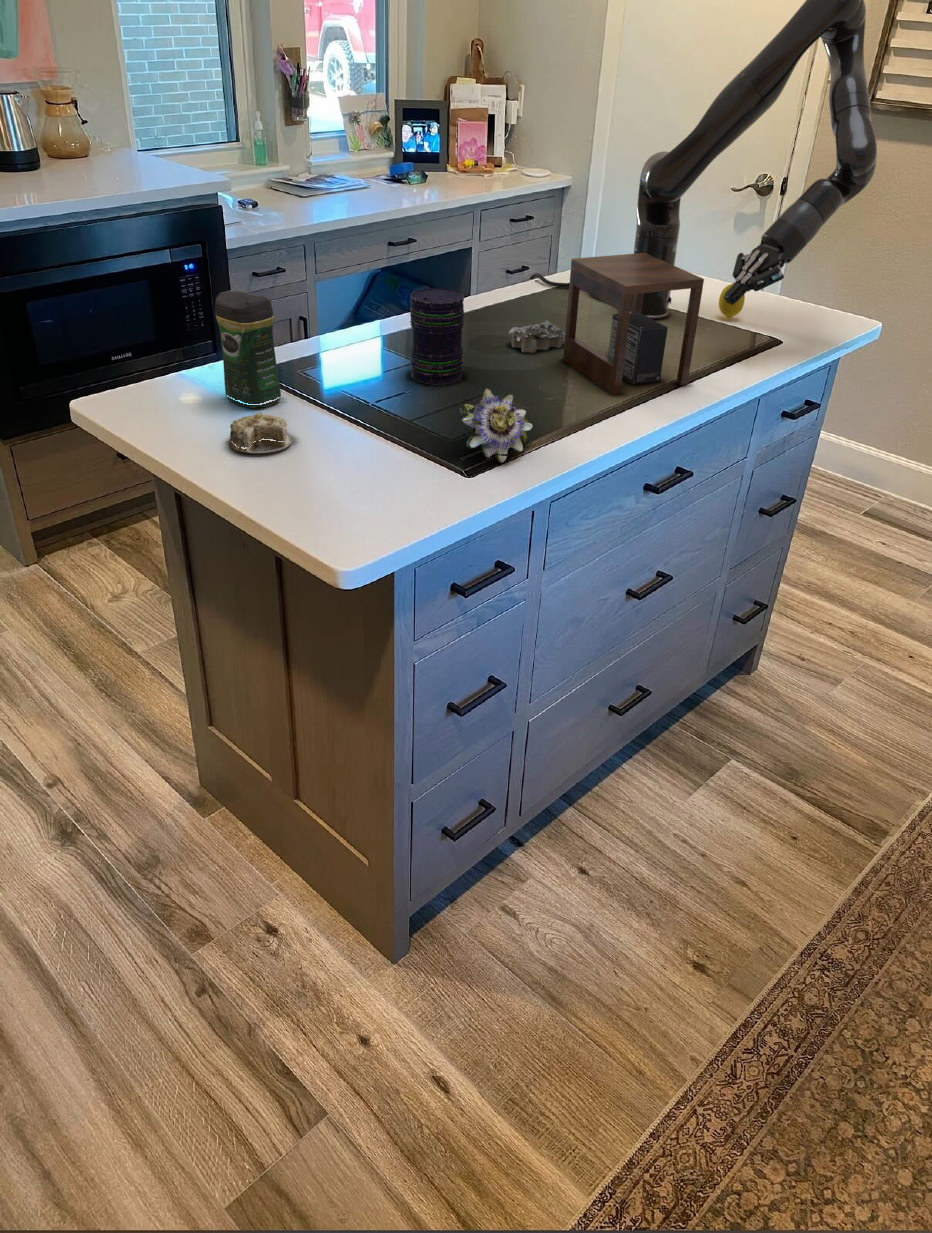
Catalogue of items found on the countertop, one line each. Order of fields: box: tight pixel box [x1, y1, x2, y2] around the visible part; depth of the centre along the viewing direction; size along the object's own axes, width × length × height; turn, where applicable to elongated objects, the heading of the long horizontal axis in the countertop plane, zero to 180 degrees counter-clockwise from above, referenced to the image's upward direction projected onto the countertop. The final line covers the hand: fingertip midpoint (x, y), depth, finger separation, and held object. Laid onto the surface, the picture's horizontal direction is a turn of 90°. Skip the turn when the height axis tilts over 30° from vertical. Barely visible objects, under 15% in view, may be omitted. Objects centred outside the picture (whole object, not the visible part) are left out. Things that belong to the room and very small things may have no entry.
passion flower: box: [458, 388, 534, 464], centre depth 149 cm, size 11×11×12 cm
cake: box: [228, 412, 293, 454], centre depth 150 cm, size 10×10×5 cm
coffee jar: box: [214, 288, 282, 409], centre depth 162 cm, size 10×8×19 cm
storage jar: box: [409, 287, 465, 386], centre depth 175 cm, size 10×10×15 cm
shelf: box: [562, 253, 705, 396], centre depth 178 cm, size 20×16×20 cm
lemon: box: [718, 282, 746, 320], centre depth 212 cm, size 6×6×8 cm
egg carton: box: [508, 320, 566, 354], centre depth 194 cm, size 11×8×4 cm
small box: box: [607, 313, 669, 385], centre depth 179 cm, size 11×6×10 cm, turn 23°
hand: (727, 301), depth 184 cm, fingers closed
